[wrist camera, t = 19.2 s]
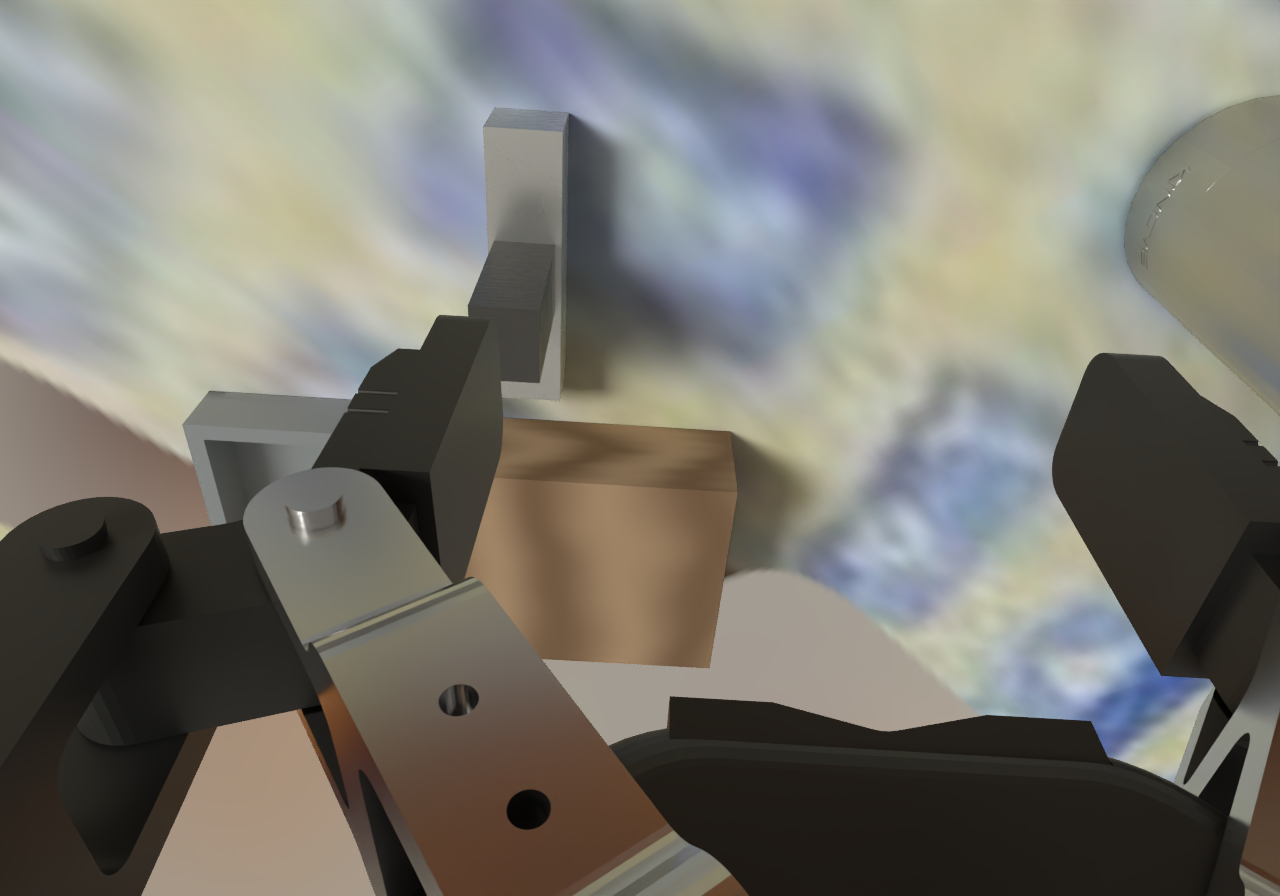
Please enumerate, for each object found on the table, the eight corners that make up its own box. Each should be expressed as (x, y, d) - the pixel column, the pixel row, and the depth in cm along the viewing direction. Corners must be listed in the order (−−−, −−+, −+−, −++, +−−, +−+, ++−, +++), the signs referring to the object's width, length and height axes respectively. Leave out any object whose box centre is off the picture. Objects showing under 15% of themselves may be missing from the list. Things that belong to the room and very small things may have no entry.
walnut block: (730, 431, 44) (737, 492, 40) (705, 601, 51) (709, 668, 47) (412, 412, 44) (387, 471, 40) (430, 585, 51) (410, 651, 46)
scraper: (569, 111, 35) (546, 183, 28) (565, 368, 42) (546, 479, 35) (495, 106, 35) (452, 177, 28) (503, 364, 42) (471, 475, 35)
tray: (411, 403, 43) (397, 437, 41) (430, 585, 51) (419, 623, 48) (209, 391, 43) (182, 424, 41) (257, 575, 50) (236, 613, 48)
